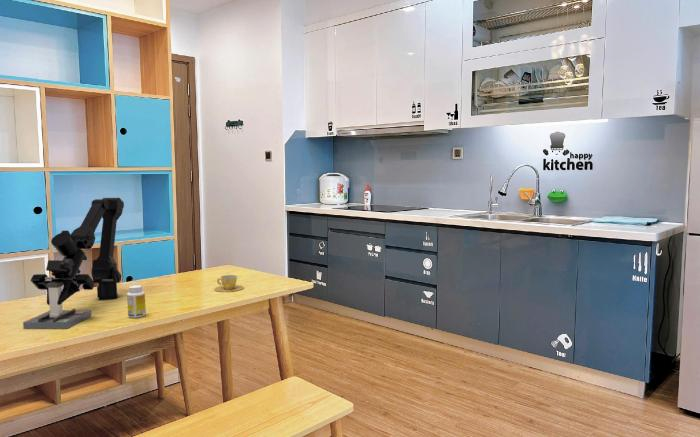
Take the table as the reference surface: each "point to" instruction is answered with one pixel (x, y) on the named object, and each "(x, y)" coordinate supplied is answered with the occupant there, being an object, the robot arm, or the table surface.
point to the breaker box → (57, 320)
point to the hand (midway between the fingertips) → (53, 304)
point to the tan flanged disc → (228, 283)
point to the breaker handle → (55, 298)
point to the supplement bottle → (136, 302)
